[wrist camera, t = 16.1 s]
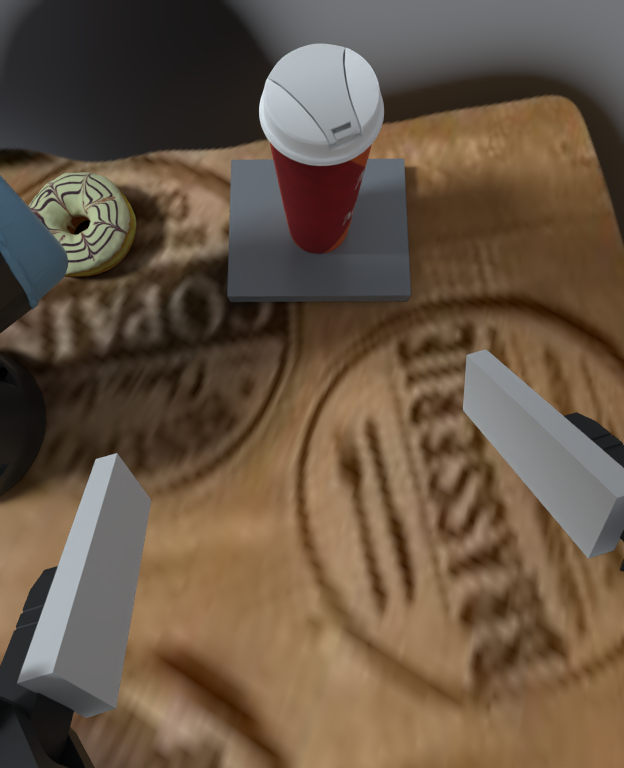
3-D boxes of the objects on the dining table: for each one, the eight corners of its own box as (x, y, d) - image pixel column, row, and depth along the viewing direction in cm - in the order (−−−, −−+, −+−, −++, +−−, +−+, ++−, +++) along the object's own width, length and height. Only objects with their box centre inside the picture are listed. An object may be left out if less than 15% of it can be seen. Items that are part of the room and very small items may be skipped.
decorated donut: (24, 221, 41) (-5, 198, 37) (115, 175, 42) (95, 148, 38) (65, 301, 39) (39, 285, 36) (158, 251, 40) (142, 231, 36)
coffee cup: (373, 245, 38) (411, 118, 24) (298, 277, 38) (288, 168, 23) (337, 177, 40) (352, 15, 25) (264, 207, 39) (234, 61, 24)
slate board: (230, 302, 39) (227, 296, 37) (234, 170, 41) (231, 159, 40) (407, 300, 39) (410, 295, 37) (400, 168, 41) (404, 158, 40)
